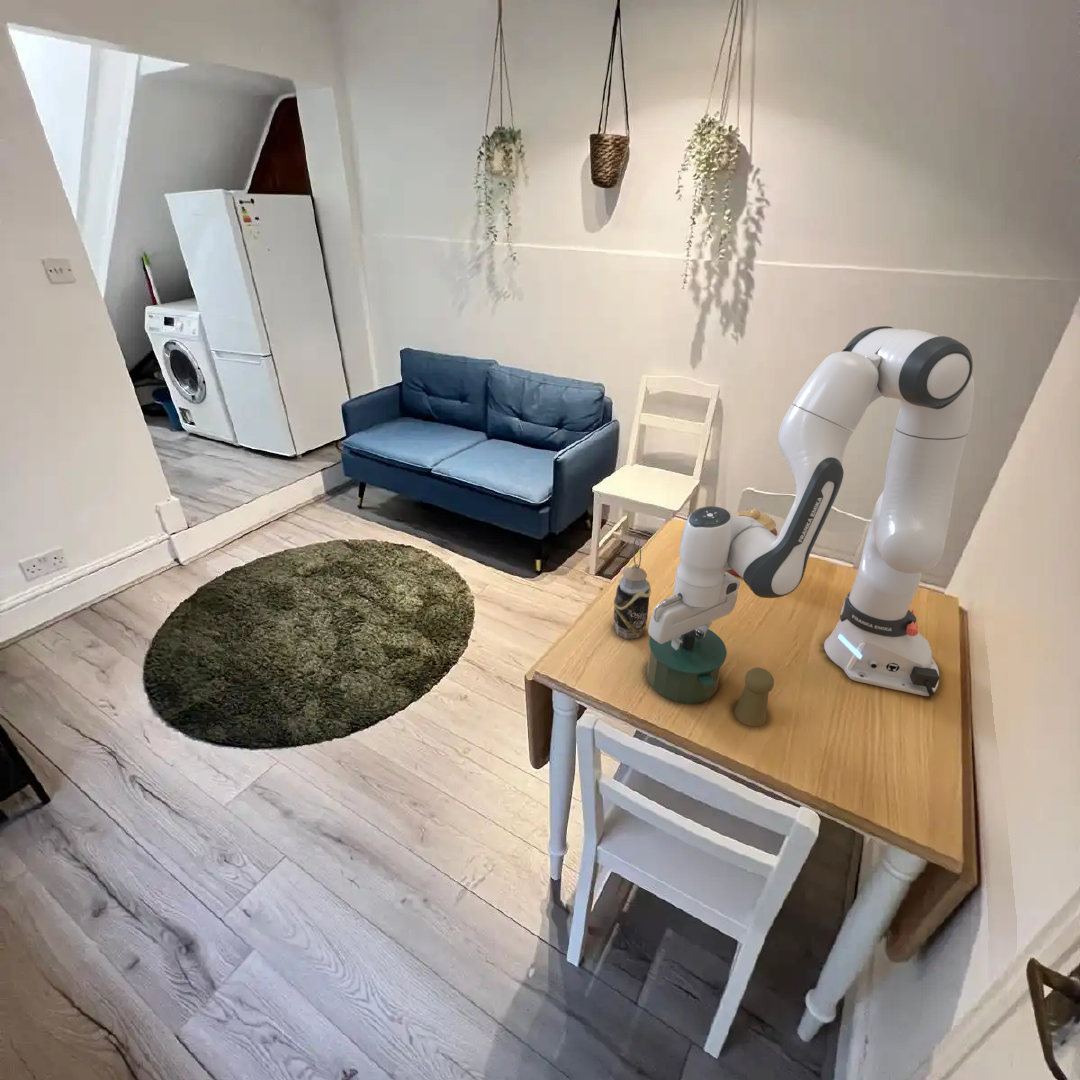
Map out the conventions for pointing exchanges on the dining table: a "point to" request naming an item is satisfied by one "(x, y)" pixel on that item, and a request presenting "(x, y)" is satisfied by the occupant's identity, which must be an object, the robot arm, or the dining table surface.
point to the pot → (681, 683)
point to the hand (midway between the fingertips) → (688, 642)
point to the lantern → (632, 601)
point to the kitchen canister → (762, 519)
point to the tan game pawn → (754, 697)
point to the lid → (691, 653)
